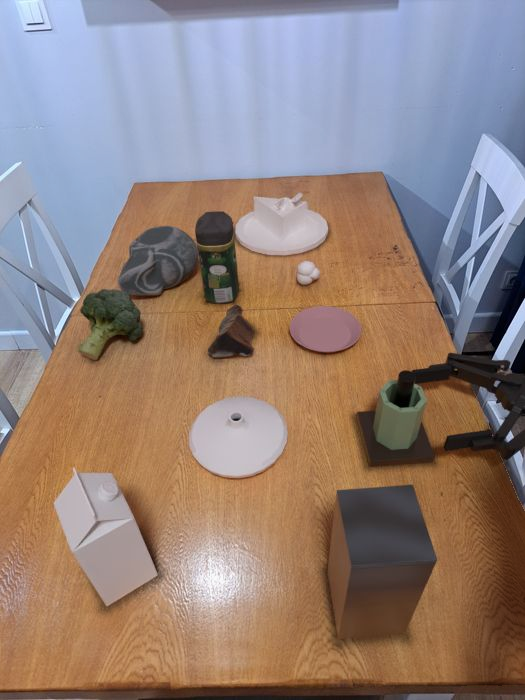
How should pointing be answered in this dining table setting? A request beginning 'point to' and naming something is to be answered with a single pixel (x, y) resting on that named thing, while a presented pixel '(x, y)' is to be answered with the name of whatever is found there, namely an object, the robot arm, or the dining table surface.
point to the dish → (281, 227)
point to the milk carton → (104, 535)
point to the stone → (233, 336)
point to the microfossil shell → (307, 272)
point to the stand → (378, 560)
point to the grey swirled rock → (158, 261)
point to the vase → (238, 437)
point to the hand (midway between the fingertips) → (427, 408)
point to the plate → (325, 329)
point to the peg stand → (382, 454)
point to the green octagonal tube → (398, 417)
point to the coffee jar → (217, 257)
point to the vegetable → (109, 319)
